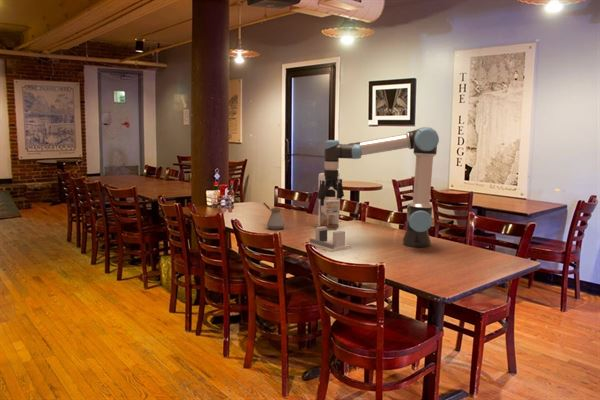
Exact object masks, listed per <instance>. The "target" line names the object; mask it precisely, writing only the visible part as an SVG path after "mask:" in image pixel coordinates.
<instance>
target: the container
mask: <svg viewBox="0 0 600 400" xmlns="http://www.w3.org/2000/svg"><path fill="white" fill-rule="evenodd" d="M336 198H337V191H336V190H332V189H329V190H328V192H327V194H326V197H325V199H324V200H326V209H325V212H322V213H323V214H325V215H339V216H340V213H341V212H340V210H341V204H340V200H337V199H336Z"/></svg>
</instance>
